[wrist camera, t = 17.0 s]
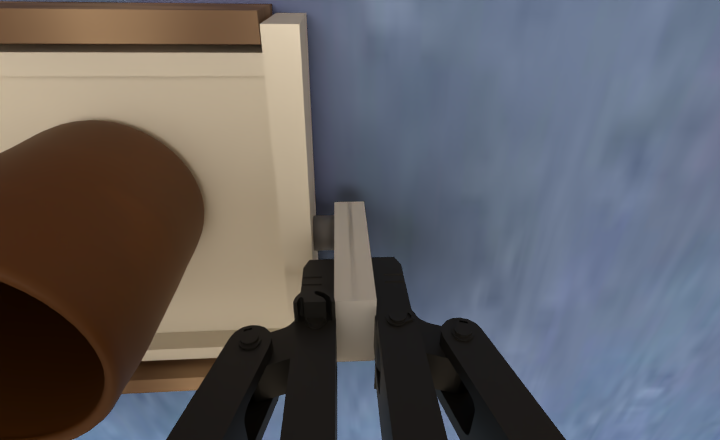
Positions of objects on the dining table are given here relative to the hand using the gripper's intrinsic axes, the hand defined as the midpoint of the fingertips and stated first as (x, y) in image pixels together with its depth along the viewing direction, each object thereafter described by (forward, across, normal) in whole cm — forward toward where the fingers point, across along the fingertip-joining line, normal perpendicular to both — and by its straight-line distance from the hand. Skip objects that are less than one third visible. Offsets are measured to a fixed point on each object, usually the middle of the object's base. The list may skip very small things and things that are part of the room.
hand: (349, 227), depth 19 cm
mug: (+1, -12, 0) cm, 12 cm away
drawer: (+2, -10, 0) cm, 10 cm away
